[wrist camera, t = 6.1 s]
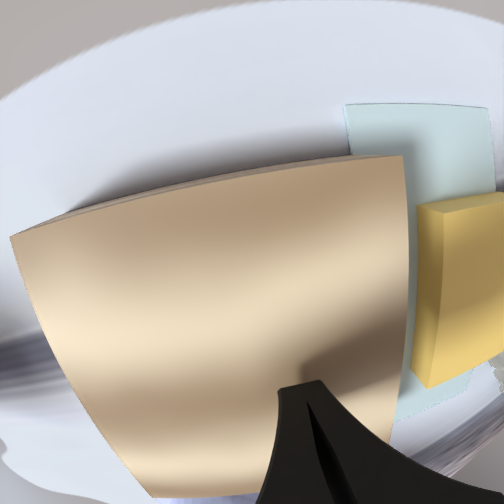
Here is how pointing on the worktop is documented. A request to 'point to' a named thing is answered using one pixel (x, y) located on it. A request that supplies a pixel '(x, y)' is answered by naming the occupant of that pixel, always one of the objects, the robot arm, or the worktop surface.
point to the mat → (426, 194)
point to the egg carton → (498, 368)
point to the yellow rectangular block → (458, 286)
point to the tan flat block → (226, 311)
